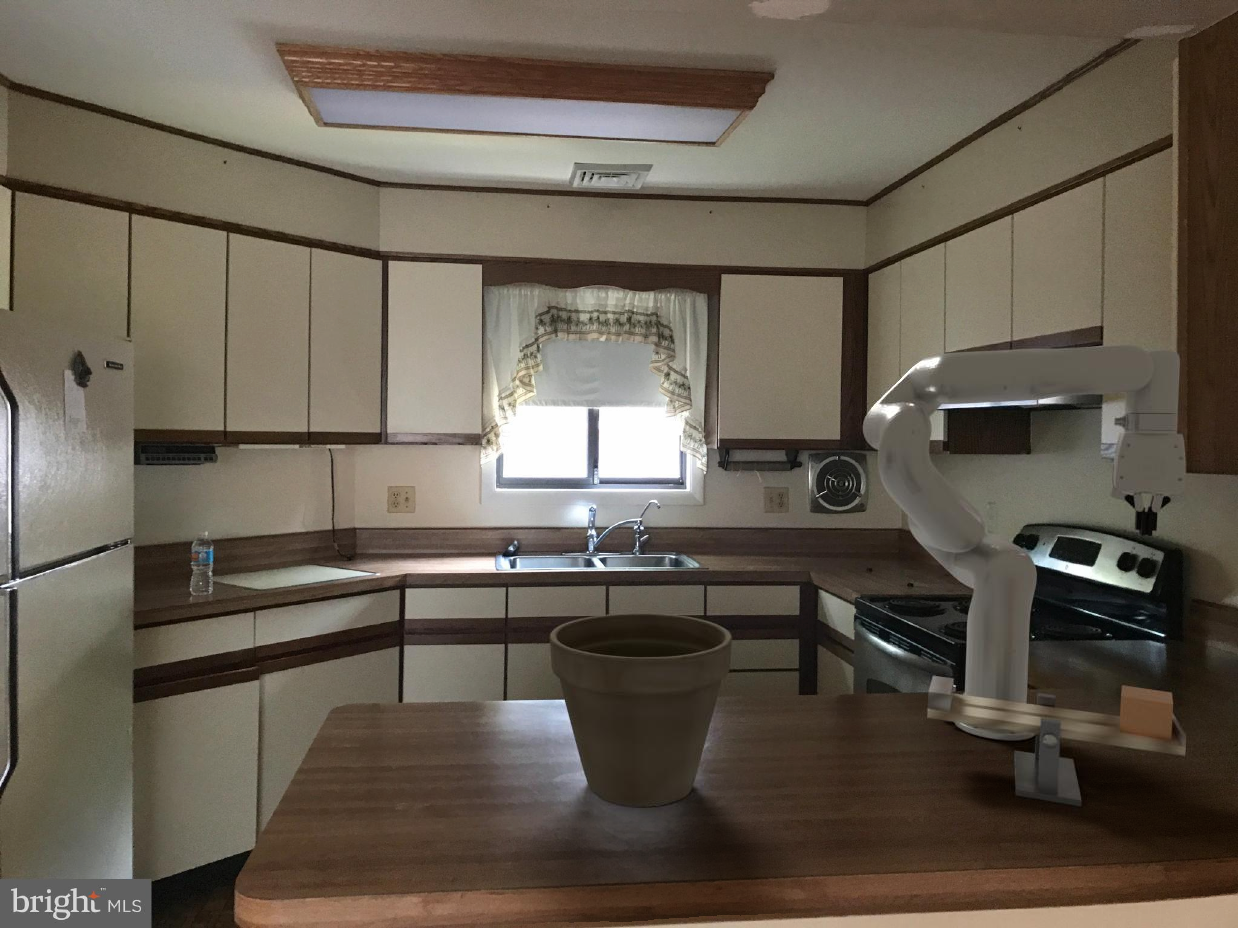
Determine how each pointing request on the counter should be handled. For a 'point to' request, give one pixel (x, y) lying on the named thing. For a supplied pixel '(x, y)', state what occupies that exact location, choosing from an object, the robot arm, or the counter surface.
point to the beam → (1029, 716)
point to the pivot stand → (1047, 765)
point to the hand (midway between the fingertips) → (1145, 534)
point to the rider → (1146, 712)
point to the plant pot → (640, 700)
